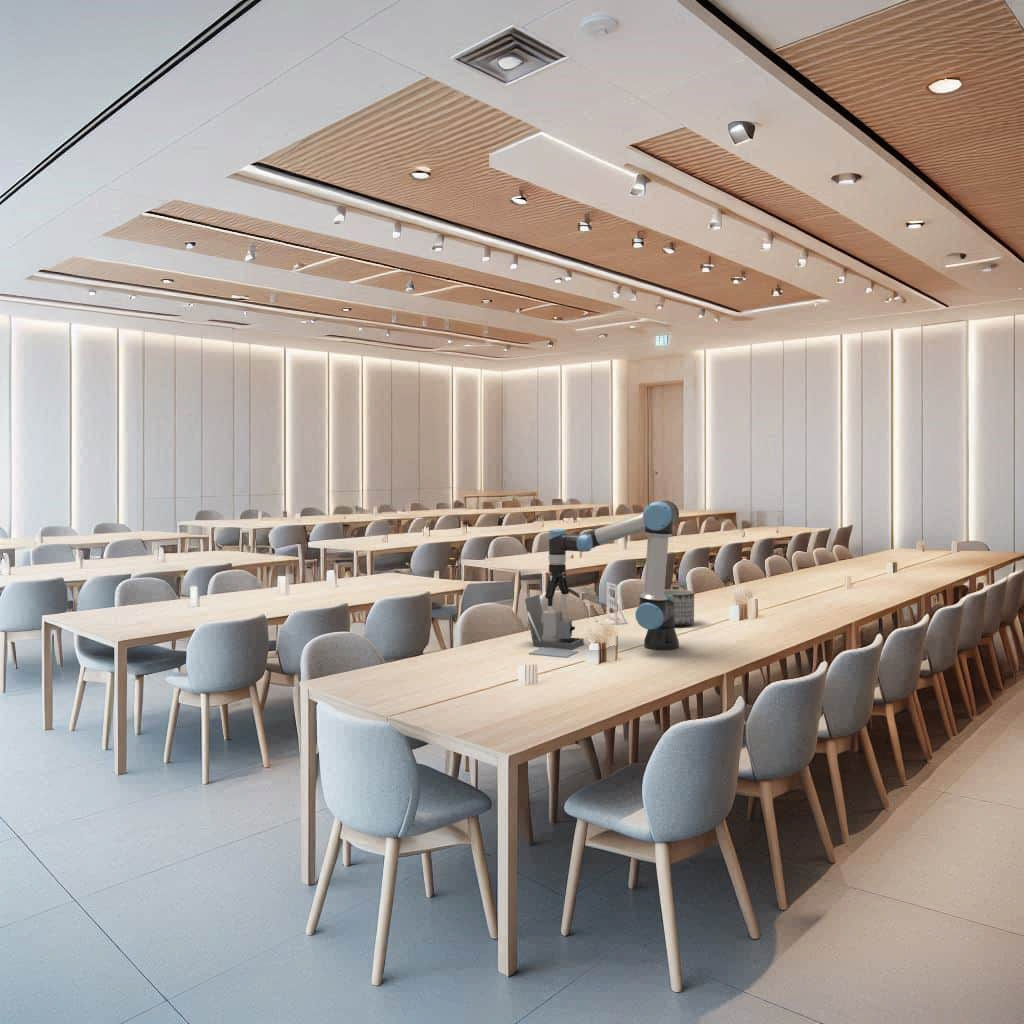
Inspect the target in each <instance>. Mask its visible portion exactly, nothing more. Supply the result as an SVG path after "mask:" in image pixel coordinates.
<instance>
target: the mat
mask: <svg viewBox="0 0 1024 1024" xmlns="http://www.w3.org/2000/svg"><path fill="white" fill-rule="evenodd" d="M578 653H579V651H578V650H570V649H559V648H548V647H539V648H538V649H535V650H532V651H531V652H528V655H533V656H545V657H553V658H554V657H555V658H566V659H568V658H569V657H572V656H574V655H575V654H578Z"/></svg>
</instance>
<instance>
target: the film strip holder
mask: <svg viewBox="0 0 1024 1024" xmlns="http://www.w3.org/2000/svg"><path fill="white" fill-rule="evenodd" d="M605 588H606V589H605V590H606V592H605V593H606V595H605V596H606V600H605V601H606V603H605V604H606V620H607V621H609V620H610V621H609V622H610V624H612V625H611V626H613V625H617V626H618V625H626V624H629V622H628V621H626V620H627V619H626V618H625V616H624V614H623V611H622V610H621V609H620V606H619V603H618V585H617V584H614V583H613V582H609V581H607V582H606V587H605ZM610 590H614V594H615V597H613V596H611V593H610ZM611 609H612V611H613V613H614V615H615V617H614V616H612V615H611V613H610V611H611ZM618 611H619V613H620V615H621V617H622V620H623V621H620V620H621V619H620V618H619V617H618V616H619V615H618V614H619V613H618Z"/></svg>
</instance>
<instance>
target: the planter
mask: <svg viewBox="0 0 1024 1024" xmlns="http://www.w3.org/2000/svg"><path fill="white" fill-rule="evenodd" d="M664 595H672V596H673V597H674V601H675V628H676V627H677V628H678V627H680V628H681V627H685V626H686V625H692V624H694V621H695V591H693V590H690V589H689V590H687V589H675V588H674V589H671V588H670V589H664Z"/></svg>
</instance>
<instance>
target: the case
mask: <svg viewBox="0 0 1024 1024" xmlns="http://www.w3.org/2000/svg"><path fill="white" fill-rule="evenodd" d="M524 601H525V607H526V615H527V617H528V624H529V629H530V635H531V640H532V646H533V647H539V648H548V649H559V650H570V651H574V649H577V648H579V647H581V646H582V645H584V644H585V643H584V642H585V639H584V638H580V637H570V639H563V643H560V642H549V641H542V635H543V634H544V625H543V623H542V622H541V617H542V613H543V608H542V602H541V596H540V594H535V595H532V596H530V597H526V598H524Z"/></svg>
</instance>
